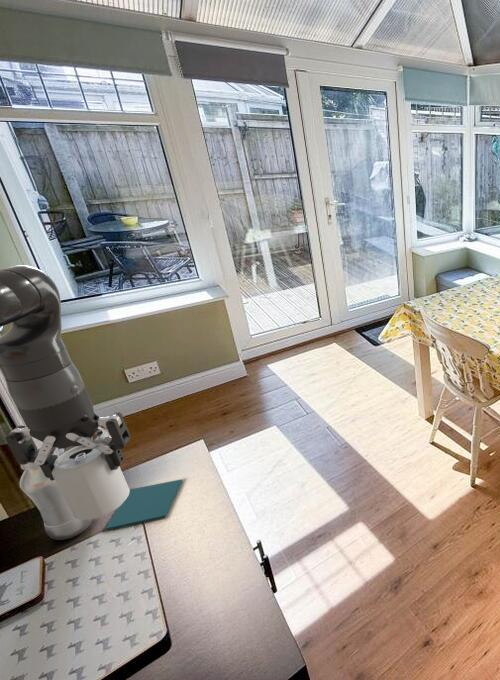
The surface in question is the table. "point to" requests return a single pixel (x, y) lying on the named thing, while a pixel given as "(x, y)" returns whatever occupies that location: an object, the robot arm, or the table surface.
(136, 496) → the mat
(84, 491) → the can
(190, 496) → the table surface
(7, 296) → the robot arm
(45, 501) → the plastic bottle
